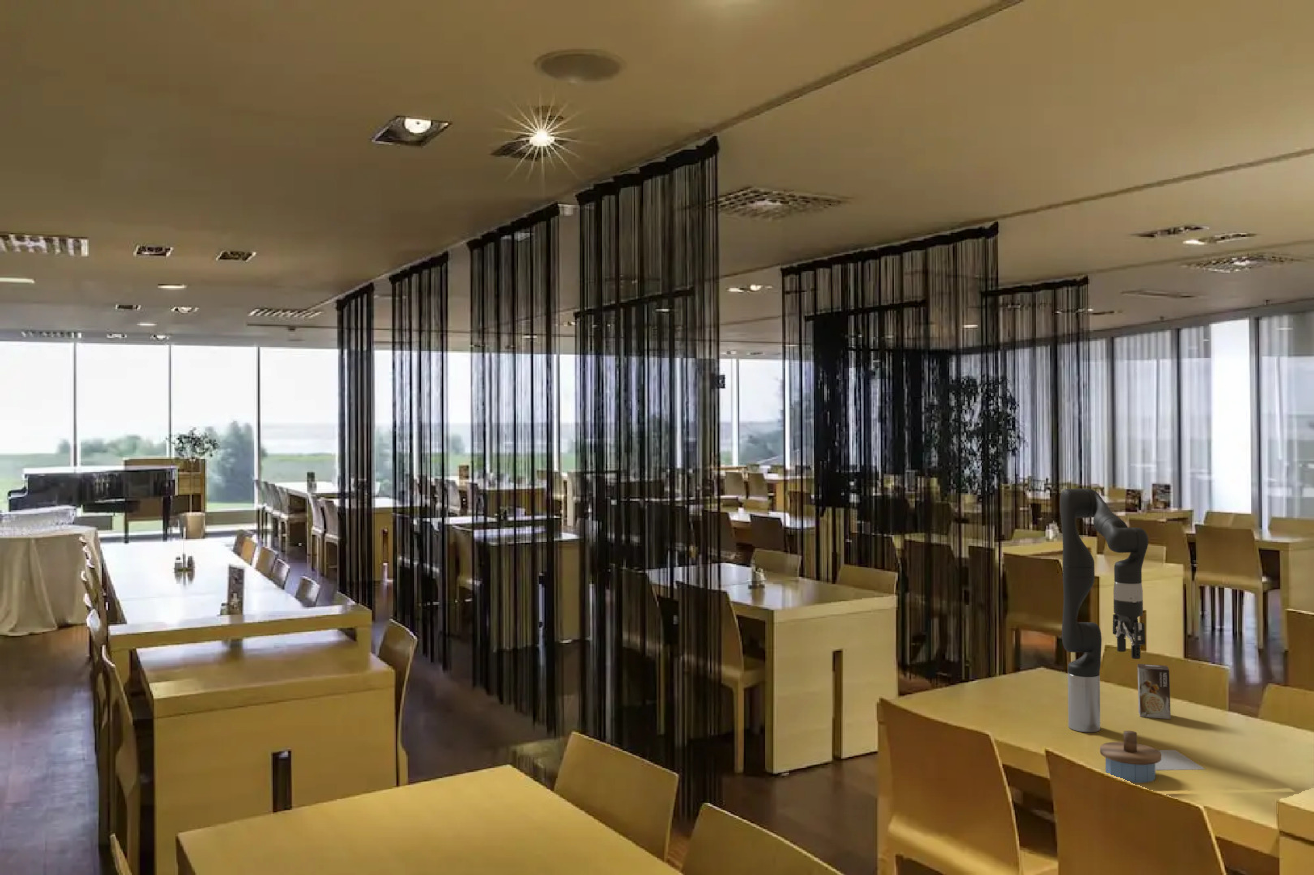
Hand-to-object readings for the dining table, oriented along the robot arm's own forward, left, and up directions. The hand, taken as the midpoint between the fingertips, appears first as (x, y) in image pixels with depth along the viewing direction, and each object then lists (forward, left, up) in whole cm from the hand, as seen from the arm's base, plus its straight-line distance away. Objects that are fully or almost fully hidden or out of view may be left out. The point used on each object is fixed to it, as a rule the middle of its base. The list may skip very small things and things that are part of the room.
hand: (1128, 655), depth 282 cm
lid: (+13, -6, -24) cm, 28 cm away
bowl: (+13, -6, -30) cm, 33 cm away
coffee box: (-42, +28, -30) cm, 59 cm away
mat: (+2, +8, -30) cm, 31 cm away
